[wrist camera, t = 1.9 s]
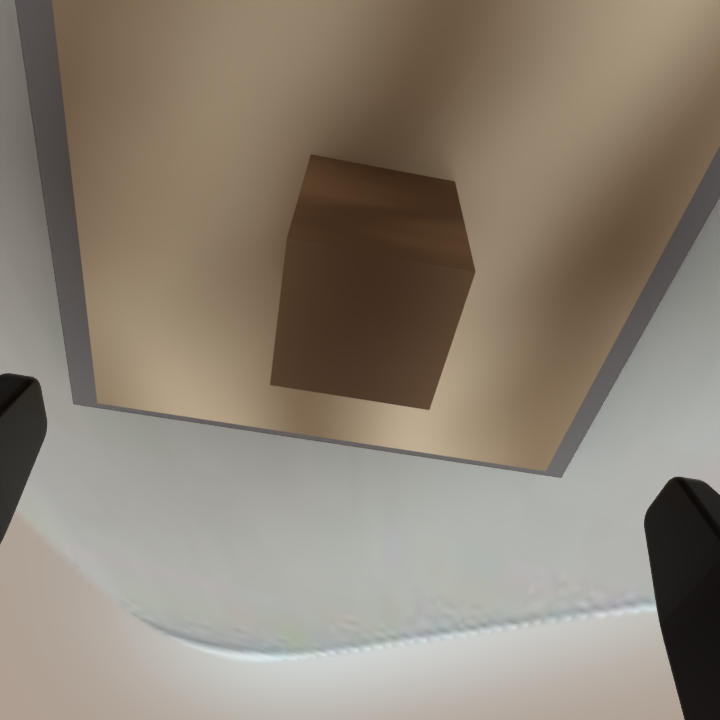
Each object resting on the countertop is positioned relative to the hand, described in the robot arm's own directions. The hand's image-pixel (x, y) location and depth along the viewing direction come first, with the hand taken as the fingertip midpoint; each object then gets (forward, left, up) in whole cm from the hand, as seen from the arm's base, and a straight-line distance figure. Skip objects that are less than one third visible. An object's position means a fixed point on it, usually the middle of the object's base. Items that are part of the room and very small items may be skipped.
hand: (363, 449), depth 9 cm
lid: (0, 0, -8) cm, 8 cm away
